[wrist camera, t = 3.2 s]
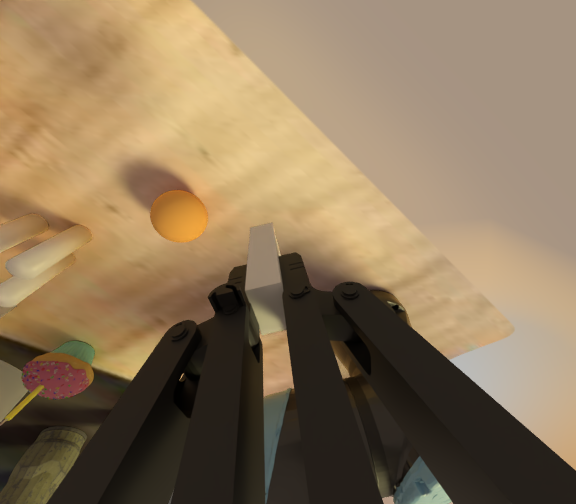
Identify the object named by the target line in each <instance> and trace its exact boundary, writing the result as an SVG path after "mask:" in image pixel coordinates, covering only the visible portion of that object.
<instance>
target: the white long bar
mask: <svg viewBox="0 0 576 504" xmlns="http://www.w3.org/2000/svg"><path fill="white" fill-rule="evenodd" d="M15 307H17V305H15V306H13V307H1V306H0V318H1V317H3V316H4V315H6V314H7V313H8V312H10V311H11V310H12V309H14V308H15Z"/></svg>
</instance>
